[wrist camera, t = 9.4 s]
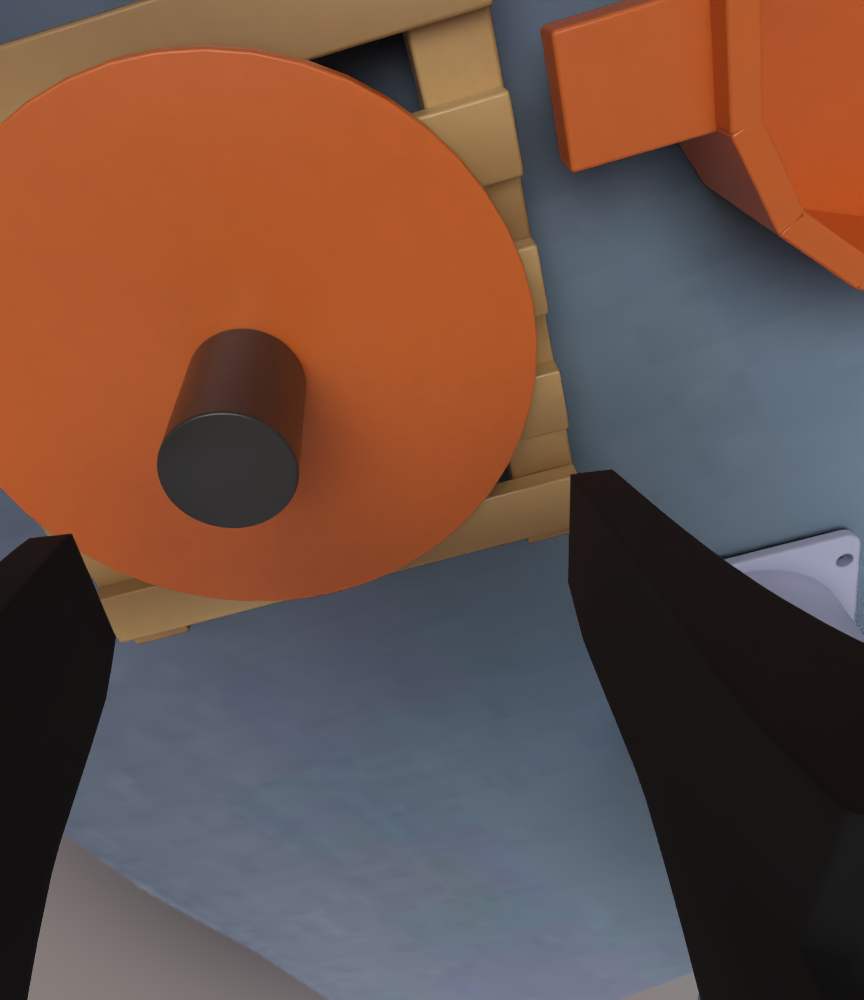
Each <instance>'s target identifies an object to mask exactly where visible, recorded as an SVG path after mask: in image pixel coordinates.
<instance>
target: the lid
mask: <svg viewBox="0 0 864 1000" xmlns="http://www.w3.org/2000/svg"><path fill="white" fill-rule="evenodd" d="M536 372H537V330H536V321H535V313H534V304H533V299H532V295H531V291H530V288H529V284H528V280H527V276H526V272H525V269H524V265H523V262H522V260H521V258H520V255H519V253H518V251H517V248H516V246H515V243H514V241H513V239H512V236H511V234H510V232H509V229H508V227H507V225H506V224H505V222H504V220H503V219H502V217H501V215H500V214H499V212H498V210H497V209H496V207H495V205H494V203H493V202H492V200H491V198H490V197H489V195H488V193H487V192H486V190H485V188H484V187H483V186H482V184H481V183H480V182H479V181H478V179H477V178H476V177H475V176H474V174H473V173H472V172H471V171H470V169H469V168H468V167H467V166H466V164H465V163H464V162H463V161H462V159H461V158H460V157H459V156H458V154H457V153H456V152H455V151H453V150H452V149H451V148H450V147H449V146H448V145H447V144H446V143H445V142H444V141H443V140H442V139H441V138H440V137H439V136H438V135H437V134H436V133H435V132H434V131H433V130H432V129H430V128H429V127H428V126H427V125H426V124H425V123H424V122H422V121H421V120H420V119H418V118H417V117H415V116H414V115H413V114H411V113H410V112H409V111H407V110H406V109H404V108H403V107H402V106H400V105H399V104H398V103H396V102H395V101H393V100H392V99H391V98H389V97H388V96H386V95H384V94H382V93H380V92H378V91H376V90H375V89H373V88H371V87H369V86H367V85H365V84H363V83H362V82H360V81H358V80H356V79H354V78H352V77H350V76H349V75H346V74H344V73H341V72H338V71H336V70H333V69H330V68H328V67H325V66H322V65H319V64H317V63H314V62H311V61H309V60H306V59H303V58H299V57H295V56H290V55H286V54H281V53H277V52H272V51H268V50H263V49H259V48H252V47H239V46H225V45H212V44H202V45H188V46H174V47H160V48H155V49H151V50H146V51H142V52H138V53H133V54H129V55H124V56H120V57H116V58H112V59H110V60H107V61H105V62H102V63H100V64H97V65H95V66H92V67H90V68H87V69H85V70H82V71H80V72H77V73H75V74H72V75H70V76H68V77H66V78H65V79H63V80H61V81H60V82H58V83H56V84H55V85H53V86H51V87H50V88H48V89H46V90H45V91H43V92H41V93H40V94H38V95H37V96H35V97H33V98H32V99H30V100H28V101H27V102H25V103H24V104H23V105H22V106H21V107H20V108H18V109H17V110H16V111H15V112H14V113H13V114H11V115H10V116H9V117H8V118H7V119H6V120H5V121H3V122H2V123H1V124H0V487H1V488H2V489H3V490H4V491H5V492H6V493H7V494H8V495H9V496H10V497H11V498H12V499H13V500H14V501H15V502H16V503H17V504H18V505H19V506H20V507H21V508H22V509H23V510H24V511H25V512H26V513H27V514H28V515H29V516H31V517H32V518H33V519H34V520H36V521H37V522H38V523H39V524H41V525H42V526H43V527H44V528H46V529H47V530H48V531H49V532H50V533H52V534H53V535H62V534H71V533H72V535H73V537H74V539H75V542H76V544H77V546H78V549H79V551H80V552H81V553H82V554H84V555H86V556H88V557H90V558H92V559H94V560H96V561H98V562H100V563H101V564H103V565H105V566H107V567H109V568H111V569H113V570H115V571H118V572H120V573H123V574H126V575H128V576H131V577H133V578H136V579H138V580H141V581H143V582H146V583H149V584H152V585H156V586H159V587H163V588H166V589H170V590H173V591H177V592H181V593H186V594H192V595H197V596H202V597H207V598H214V599H225V600H236V601H282V600H292V599H302V598H310V597H315V596H320V595H325V594H329V593H334V592H339V591H342V590H346V589H349V588H352V587H355V586H358V585H362V584H365V583H368V582H370V581H373V580H375V579H377V578H380V577H382V576H384V575H387V574H389V573H391V572H394V571H396V570H398V569H400V568H401V567H403V566H405V565H407V564H408V563H410V562H412V561H414V560H415V559H417V558H419V557H421V556H422V555H424V554H426V553H427V552H428V551H430V550H431V549H432V548H434V547H435V546H436V545H438V544H439V543H441V542H442V541H443V540H445V539H446V538H447V537H449V536H450V535H451V534H452V533H453V532H454V531H455V530H456V529H457V528H458V527H459V526H460V525H462V524H463V523H464V522H465V521H466V520H467V519H468V518H469V517H470V516H471V515H472V514H473V513H474V511H475V510H476V509H477V508H478V507H479V506H480V504H481V503H482V502H483V501H484V500H485V498H486V497H487V496H488V495H489V494H490V492H491V491H492V489H493V488H494V486H495V485H496V483H497V482H498V480H499V478H500V477H501V475H502V474H503V472H504V471H505V469H506V467H507V466H508V464H509V462H510V460H511V457H512V455H513V453H514V451H515V449H516V447H517V445H518V442H519V440H520V438H521V436H522V433H523V430H524V426H525V423H526V420H527V417H528V414H529V410H530V407H531V403H532V397H533V391H534V385H535V379H536Z"/></svg>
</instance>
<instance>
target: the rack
mask: <svg viewBox="0 0 864 1000" xmlns="http://www.w3.org/2000/svg"><path fill="white" fill-rule="evenodd" d="M492 3H493V0H140V1H137V2H134V3H131V4H128V5H124V6H121V7H118V8H115V9H112V10H109V11H105V12H102V13H99V14H96V15H93V16H89V17H86V18H83V19H80V20H77V21H74V22H70V23H67V24H64V25H61V26H58V27H54V28H51V29H48V30H45V31H42V32H39V33H35V34H32V35H29V36H26V37H23V38H19V39H16V40H13V41H10V42H7V43H4V44H0V124H1V123H2V122H3V121H5V120H6V119H7V118H8V117H9V116H10V115H11V114H13V113H14V112H15V111H16V110H17V109H18V108H20V107H21V106H22V105H23V104H24V103H25V102H27V101H28V100H30V99H32V98H33V97H35V96H37V95H38V94H40V93H41V92H43V91H45V90H46V89H48V88H50V87H51V86H53V85H55V84H56V83H58V82H60V81H61V80H63V79H65V78H66V77H68V76H70V75H72V74H75V73H77V72H80V71H82V70H85V69H87V68H90V67H92V66H95V65H97V64H100V63H102V62H105V61H107V60H110V59H112V58H116V57H120V56H124V55H129V54H133V53H138V52H142V51H146V50H151V49H155V48H160V47H174V46H188V45H202V44H212V45H225V46H239V47H252V48H259V49H263V50H268V51H272V52H277V53H281V54H286V55H290V56H295V57H299V58H303V59H306V60H309V61H310V60H313V59H317V58H320V57H323V56H326V55H330V54H333V53H336V52H340V51H343V50H346V49H349V48H353V47H356V46H359V45H363V44H366V43H369V42H372V41H376V40H379V39H382V38H386V37H389V36H392V35H395V34H399V33H403V37H404V42H405V46H406V50H407V54H408V58H409V62H410V66H411V71H412V75H413V79H414V83H415V87H416V91H417V96H418V100H419V104H420V108H421V110H420V111H417V112H414V113H411V114H413V115H414V116H415V117H417V118H418V119H420V120H421V121H422V122H424V123H425V124H426V125H427V126H428V127H429V128H430V129H432V130H433V131H434V132H435V133H436V134H437V135H438V136H439V137H440V138H441V139H442V140H443V141H444V142H445V143H446V144H447V145H448V146H449V147H450V148H451V149H452V150H453V151H455V152H456V153H457V154H458V156H459V157H460V158H461V159H462V161H463V162H464V163H465V164H466V166H467V167H468V168H469V169H470V171H471V172H472V173H473V174H474V176H475V177H476V178H477V179H478V181H479V182H480V183H481V184H482V186H483V187H484V188H485V190H486V192H487V193H488V195H489V197H490V198H491V200H492V202H493V203H494V205H495V207H496V209H497V210H498V212H499V214H500V215H501V217H502V219H503V220H504V222H505V224H506V225H507V227H508V229H509V232H510V234H511V236H512V239H513V241H514V243H515V246H516V248H517V251H518V253H519V255H520V258H521V260H522V262H523V265H524V269H525V272H526V276H527V280H528V284H529V288H530V291H531V295H532V299H533V304H534V313H535V321H536V330H537V372H536V379H535V385H534V391H533V397H532V403H531V407H530V410H529V414H528V417H527V420H526V423H525V426H524V430H523V433H522V436H521V438H520V440H519V442H518V445H517V447H516V449H515V451H514V453H513V455H512V457H511V460H510V462H509V464H508V466H507V470H508V474H509V479H510V480H508V481H504V482H501V483H497V484H496V485H495V486H494V488H493V489H492V491H491V492H490V494H489V495H488V496H487V497H486V498H485V500H484V501H483V502H482V503H481V504H480V506H479V507H478V508H477V509H476V510H475V511H474V513H473V514H472V515H471V516H470V517H469V518H468V519H467V520H466V521H465V522H464V523H463V524H462V525H460V526H459V527H458V528H457V529H456V530H455V531H454V532H453V533H452V534H451V535H450V536H449V537H447V538H446V539H445V540H443V541H442V542H441V543H439V544H438V545H436V546H435V547H434V548H432V549H431V550H430V551H428V552H427V553H426V554H424V555H422V556H421V557H419V558H417V559H415V560H414V561H412V562H410V563H408V564H407V565H405V566H403V567H401V568H400V569H398V570H396V571H394V572H398V571H402V570H406V569H410V568H414V567H418V566H422V565H425V564H429V563H433V562H437V561H441V560H445V559H449V558H453V557H457V556H460V555H464V554H468V553H472V552H476V551H480V550H484V549H488V548H492V547H495V546H499V545H503V544H507V543H511V542H515V541H519V540H523V539H527V541H528V542H529V543H533V542H537V541H541V540H545V539H549V538H553V537H557V536H560V535H564V534H568V533H569V518H570V474H577V472H576V470H575V467H574V465H573V463H572V457H571V452H570V446H569V441H568V435H567V430H566V429H567V428H569V421H568V415H567V410H566V404H565V399H564V393H563V387H562V382H561V376H560V371H559V369H558V367H557V365H556V363H555V362H554V358H553V353H552V347H551V342H550V336H549V331H548V325H547V320H546V314H547V313H548V311H549V310H548V304H547V298H546V293H545V287H544V282H543V276H542V270H541V265H540V259H539V254H538V248H537V245H536V244H535V242H534V241H533V239H532V237H531V232H530V226H529V221H528V215H527V210H526V204H525V199H524V193H523V188H522V182H521V176H522V175H523V173H524V170H523V164H522V159H521V153H520V148H519V142H518V136H517V131H516V125H515V120H514V114H513V108H512V103H511V97H510V93H509V91H508V90H507V89H506V88H505V87H504V83H503V78H502V72H501V67H500V61H499V56H498V50H497V45H496V39H495V34H494V28H493V23H492V17H491V12H490V5H491V4H492ZM40 526H41V527H42V529H43V530H44V531H45V533H46V534H47V536H54V535H53V534H52V533H50V532H49V531H48V530H47V529H46V528H44V527H43V526H42V525H41V524H40ZM80 554H81V556H82V558H83V561H84V563H85V565H86V568H87V570H88V572H89V573H90V575H91V576H92V578H93V579H94V581H95V582H96V584H97V585H98V587H99V589H98V590H97V594H98V596H99V598H100V601H101V603H102V605H103V608H104V610H105V612H106V615H107V617H108V619H109V622H110V624H111V627H112V629H113V631H114V633H115V635H116V636H117V638H118V639H119V641H120V642H126V641H130V640H134V641H135V642H136V644H141V643H145V642H149V641H153V640H157V639H161V638H165V637H168V636H172V635H176V634H180V633H184V632H188V631H189V629H190V625H192V624H196V623H200V622H204V621H208V620H212V619H215V618H219V617H223V616H227V615H231V614H235V613H239V612H243V611H247V610H250V609H254V608H258V607H262V606H266V605H270V604H274V603H278V602H282V601H285V600H282V601H236V600H225V599H214V598H207V597H202V596H197V595H192V594H186V593H181V592H177V591H173V590H170V589H166V588H163V587H159V586H156V585H152V584H149V583H146V582H143V581H141V580H138V579H136V578H133V577H131V576H128V575H126V574H123V573H120V572H118V571H115V570H113V569H111V568H109V567H107V566H105V565H103V564H101V563H100V562H98V561H96V560H94V559H92V558H90V557H88V556H86V555H84V554H82V553H81V552H80ZM394 572H391V573H394ZM389 574H390V573H389Z"/></svg>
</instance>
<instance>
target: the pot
mask: <svg viewBox="0 0 864 1000" xmlns="http://www.w3.org/2000/svg"><path fill="white" fill-rule="evenodd" d="M541 35H542V42H543V48H544V55H545V61H546V68H547V75H548V81H549V88H550V94H551V101H552V107H553V114H554V121H555V127H556V134H557V140H558V147H559V154H560V159H561V161H562V162H563V163H564V164H565V165H566V166H567V167H568V168H569V169H570V170H571V171H572V172H578V171H582V170H585V169H589V168H592V167H596V166H599V165H603V164H606V163H610V162H613V161H617V160H620V159H623V158H627V157H630V156H634V155H637V154H641V153H644V152H648V151H651V150H655V149H658V148H662V147H665V146H669V145H672V144H676V143H678V144H679V145H680V147H681V148H682V150H683V152H684V153H685V155H686V156H687V158H688V160H689V161H690V163H691V164H692V165H693V167H694V168H695V169H696V171H697V173H698V175H699V177H700V179H701V180H702V182H703V183H705V185H706V186H707V187H709V188H710V189H711V190H713V191H714V192H716V193H717V194H719V195H720V196H721V197H723V198H724V199H726V200H727V201H729V202H730V203H732V204H733V205H734V206H736V207H737V208H739V209H740V210H742V211H743V212H745V213H746V214H747V215H749V216H750V217H752V218H753V219H755V220H756V221H757V222H759V223H760V224H762V225H763V226H765V227H766V228H768V229H769V230H770V231H772V232H773V233H775V234H776V235H778V236H779V237H781V238H782V239H783V240H785V241H786V242H788V243H789V244H791V245H792V246H793V247H795V248H796V249H798V250H799V251H801V252H802V253H804V254H805V255H806V256H808V257H809V258H811V259H812V260H814V261H815V262H817V263H818V264H819V265H821V266H822V267H824V268H825V269H827V270H828V271H830V272H831V273H832V274H834V275H835V276H837V277H838V278H840V279H841V280H842V281H844V282H845V283H847V284H848V285H850V286H851V287H853V288H857V289H858V290H862V291H864V0H624V1H621V2H617V3H614V4H611V5H607V6H604V7H601V8H597V9H594V10H591V11H587V12H584V13H581V14H578V15H574V16H571V17H568V18H564V19H561V20H558V21H554V22H551V23H548V24H545V25H543V26H542V28H541Z"/></svg>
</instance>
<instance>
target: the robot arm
mask: <svg viewBox="0 0 864 1000" xmlns="http://www.w3.org/2000/svg"><path fill="white" fill-rule="evenodd" d="M860 546H861V543H860V539H859V538H858V537H857V536H856V535H855V534H854V533H853V532H852V531H851V530H847V529H845V530H838V531H834V532H830V533H826V534H822V535H818V536H814V537H810V538H806V539H803V540H799V541H795V542H791V543H787V544H783V545H779V546H775V547H771V548H767V549H763V550H759V551H755V552H751V553H747V554H743V555H739V556H735V557H731V558H727V559H722V558H721V557H720V556H718V555H717V554H716V553H714V552H713V551H711V550H710V549H709V548H707V547H706V546H705V545H703V544H702V543H701V542H699V541H698V540H697V539H696V538H694V537H693V536H692V535H690V534H689V533H688V532H687V531H685V530H684V529H683V528H681V527H680V526H679V525H678V524H676V523H675V522H674V521H673V520H672V519H670V518H669V517H668V516H667V515H665V514H664V513H663V512H662V511H661V510H659V509H658V508H657V507H656V506H655V505H653V504H652V503H651V502H650V501H649V500H648V499H646V498H645V497H644V496H643V495H642V494H641V493H639V492H638V491H637V490H636V489H635V488H633V487H632V486H631V485H630V484H629V483H628V482H626V481H625V480H624V479H623V478H622V477H620V476H619V475H618V474H617V473H616V472H614V471H613V470H603V471H595V472H586V473H578V474H570V518H569V569H568V583H569V587H570V591H571V595H572V599H573V603H574V607H575V611H576V615H577V618H578V622H579V626H580V629H581V633H582V637H583V640H584V643H585V645H586V648H587V651H588V653H589V656H590V658H591V661H592V663H593V666H594V668H595V671H596V673H597V676H598V678H599V681H600V683H601V686H602V688H603V691H604V693H605V696H606V698H607V701H608V703H609V705H610V708H611V710H612V713H613V715H614V718H615V720H616V723H617V725H618V728H619V730H620V732H621V735H622V737H623V740H624V742H625V745H626V747H627V750H628V752H629V755H630V757H631V760H632V762H633V765H634V767H635V770H636V773H637V775H638V778H639V781H640V784H641V787H642V789H643V792H644V795H645V798H646V801H647V805H648V808H649V812H650V815H651V819H652V822H653V826H654V829H655V832H656V836H657V839H658V843H659V846H660V850H661V853H662V857H663V860H664V864H665V867H666V871H667V875H668V878H669V882H670V886H671V889H672V893H673V896H674V900H675V904H676V907H677V911H678V915H679V918H680V922H681V926H682V929H683V933H684V937H685V941H686V945H687V949H688V952H689V956H690V960H691V964H692V968H693V972H694V976H695V980H696V983H697V987H698V991H699V997H698V1000H864V634H863V633H862V631H861V630H860V629H859V627H858V626H857V625H856V623H855V612H856V599H857V586H858V572H859V559H860ZM843 555H844V556H843ZM841 556H843V557H842V558H840V557H841ZM838 558H839V559H838ZM115 639H116V636H115V634H114V631H113V629H112V627H111V624H110V622H109V619H108V617H107V615H106V612H105V610H104V608H103V605H102V603H101V601H100V598H99V596H98V594H97V591H96V589H95V586H94V584H93V582H92V579H91V577H90V575H89V572H88V570H87V568H86V565H85V563H84V561H83V558H82V556H81V554H80V551H79V549H78V546H77V544H76V542H75V539H74V537H73V535H72V533H71V534H62V535H54V536H45V537H37V538H29V539H28V540H27V541H25V542H24V543H23V544H21V545H20V546H19V547H17V548H16V549H15V550H14V551H12V552H11V553H10V554H9V555H8V556H6V557H5V558H4V559H3V560H2V561H0V1000H27V998H28V992H29V986H30V980H31V974H32V969H33V964H34V958H35V953H36V947H37V941H38V937H39V932H40V927H41V922H42V918H43V913H44V908H45V903H46V898H47V893H48V889H49V884H50V879H51V874H52V870H53V867H54V863H55V860H56V856H57V852H58V849H59V845H60V841H61V838H62V835H63V832H64V829H65V826H66V823H67V820H68V817H69V814H70V810H71V807H72V804H73V801H74V798H75V795H76V792H77V789H78V786H79V783H80V780H81V776H82V773H83V770H84V767H85V764H86V761H87V758H88V755H89V752H90V749H91V745H92V742H93V739H94V736H95V733H96V729H97V726H98V723H99V720H100V717H101V713H102V710H103V707H104V703H105V700H106V695H107V689H108V684H109V678H110V673H111V667H112V660H113V653H114V646H115Z"/></svg>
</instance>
